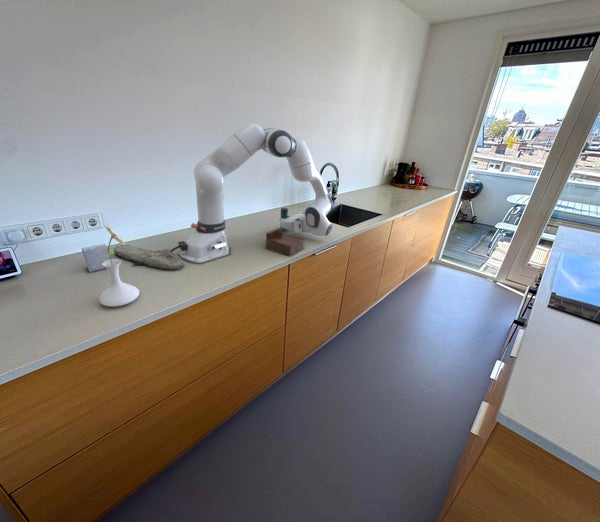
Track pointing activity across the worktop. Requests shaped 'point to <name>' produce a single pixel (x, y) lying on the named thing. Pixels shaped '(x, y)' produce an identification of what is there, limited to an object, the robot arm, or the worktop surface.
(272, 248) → the stand
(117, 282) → the flower in vase
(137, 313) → the worktop surface
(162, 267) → the long grey stone
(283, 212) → the marker
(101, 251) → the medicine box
